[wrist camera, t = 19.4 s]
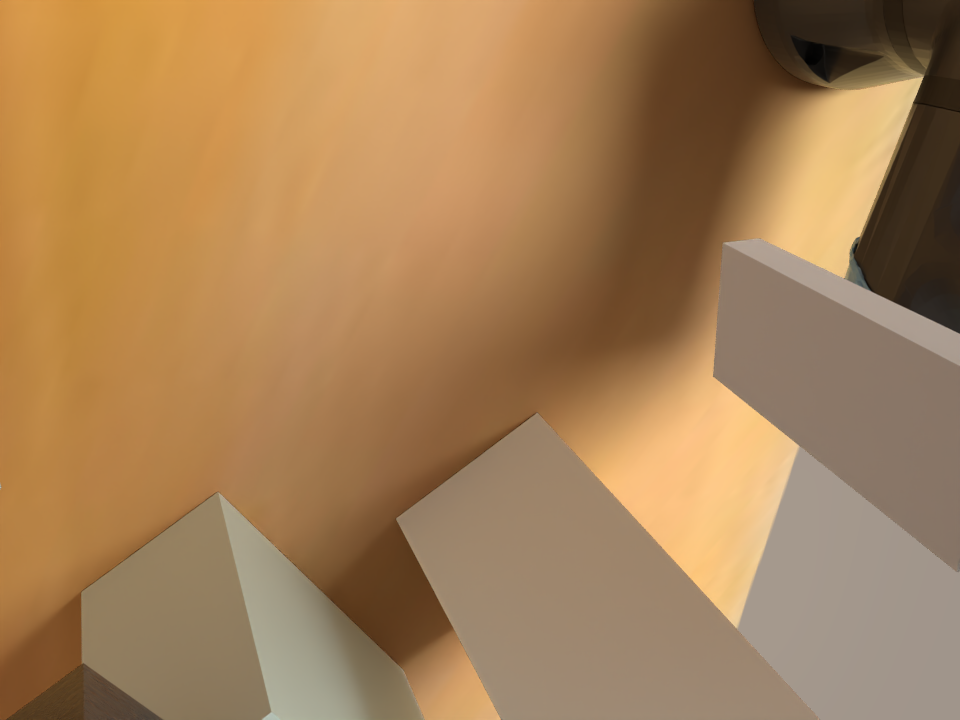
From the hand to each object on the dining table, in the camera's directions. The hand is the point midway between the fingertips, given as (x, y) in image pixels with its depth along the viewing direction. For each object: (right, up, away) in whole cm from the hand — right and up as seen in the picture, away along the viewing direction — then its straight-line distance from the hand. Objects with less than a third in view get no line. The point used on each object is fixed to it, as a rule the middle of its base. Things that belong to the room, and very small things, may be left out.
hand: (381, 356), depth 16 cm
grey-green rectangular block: (-13, -19, +44) cm, 50 cm away
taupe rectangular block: (+4, -11, +48) cm, 50 cm away
